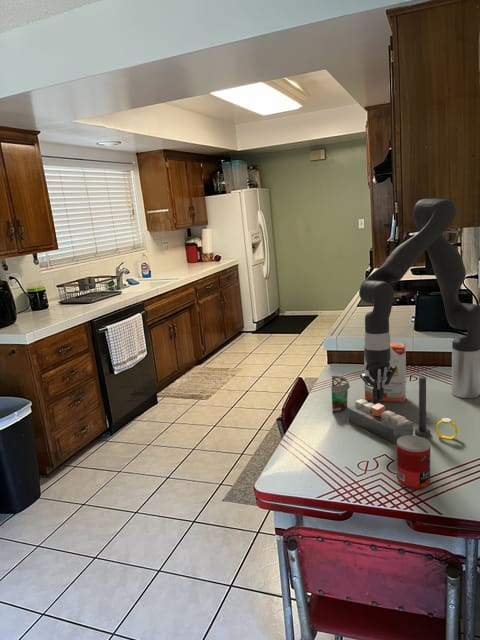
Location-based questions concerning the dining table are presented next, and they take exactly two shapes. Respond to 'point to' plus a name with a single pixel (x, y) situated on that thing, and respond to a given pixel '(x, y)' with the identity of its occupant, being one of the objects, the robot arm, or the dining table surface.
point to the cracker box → (398, 381)
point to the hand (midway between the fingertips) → (378, 399)
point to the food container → (339, 393)
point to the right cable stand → (422, 410)
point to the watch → (446, 421)
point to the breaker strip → (379, 422)
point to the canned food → (413, 462)
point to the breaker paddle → (378, 409)
